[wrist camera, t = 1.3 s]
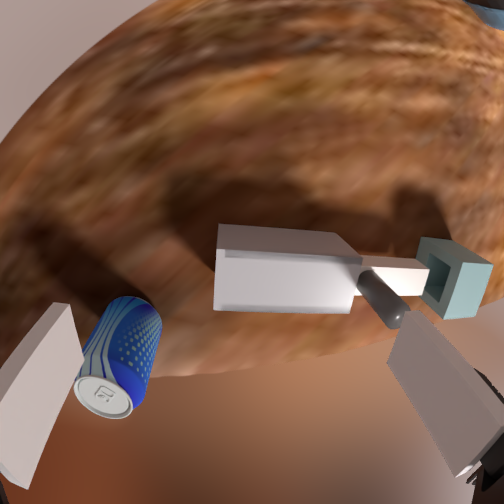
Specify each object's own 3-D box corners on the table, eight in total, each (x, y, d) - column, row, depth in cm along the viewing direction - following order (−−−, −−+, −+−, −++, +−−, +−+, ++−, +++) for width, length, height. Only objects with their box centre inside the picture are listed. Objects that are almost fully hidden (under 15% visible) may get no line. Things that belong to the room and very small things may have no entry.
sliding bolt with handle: (233, 246, 34) (237, 296, 23) (415, 258, 36) (466, 298, 26) (231, 276, 35) (234, 334, 24) (408, 283, 38) (455, 327, 27)
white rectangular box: (218, 223, 36) (216, 248, 28) (335, 232, 38) (363, 258, 30) (215, 273, 39) (213, 309, 31) (326, 279, 40) (349, 313, 32)
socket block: (421, 236, 39) (462, 262, 30) (452, 240, 40) (493, 264, 31) (407, 286, 42) (443, 319, 33) (439, 286, 43) (474, 316, 34)
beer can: (171, 337, 42) (153, 423, 27) (120, 343, 42) (89, 423, 27) (153, 287, 39) (120, 367, 24) (99, 296, 39) (52, 370, 24)
